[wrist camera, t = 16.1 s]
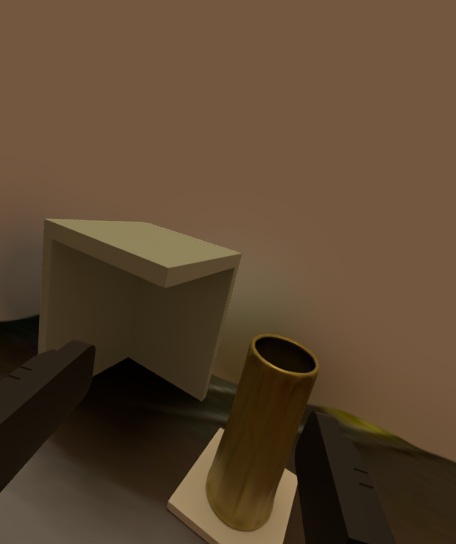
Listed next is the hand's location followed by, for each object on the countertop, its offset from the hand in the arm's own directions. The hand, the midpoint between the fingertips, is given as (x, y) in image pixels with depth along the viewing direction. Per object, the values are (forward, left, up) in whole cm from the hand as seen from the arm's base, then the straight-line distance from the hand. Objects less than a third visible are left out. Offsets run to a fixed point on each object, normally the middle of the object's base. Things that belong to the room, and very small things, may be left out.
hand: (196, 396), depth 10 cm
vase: (+1, +11, -17) cm, 21 cm away
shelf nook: (-14, +13, -18) cm, 27 cm away
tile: (+1, +12, -18) cm, 21 cm away
